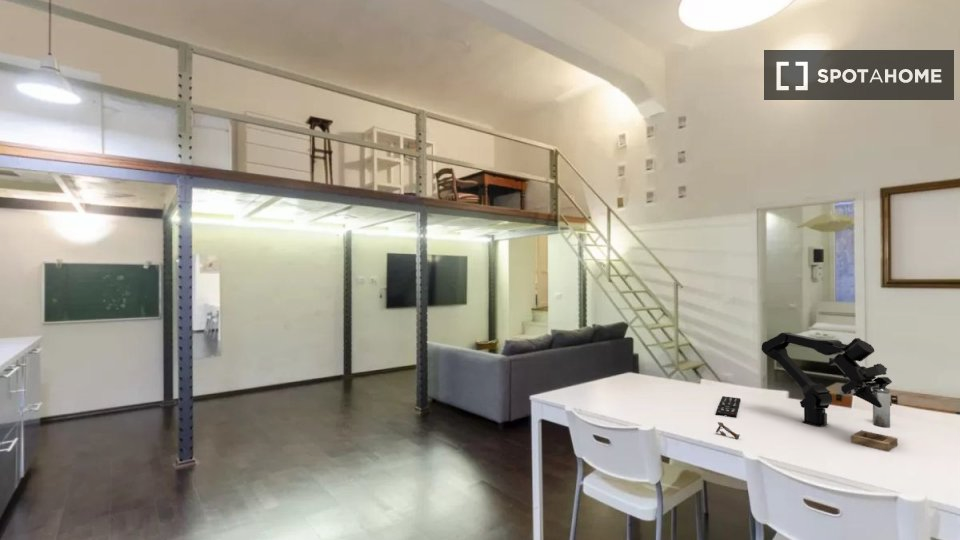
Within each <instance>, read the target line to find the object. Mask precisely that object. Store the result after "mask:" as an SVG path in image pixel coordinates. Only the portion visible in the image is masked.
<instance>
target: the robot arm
mask: <svg viewBox="0 0 960 540" xmlns="http://www.w3.org/2000/svg"><path fill="white" fill-rule="evenodd" d="M790 344H792V345H795V346H801V347H805V348H808V349H812V350H814V351H816V352H817V353H820V354H821V355H824V356H833V357H829V358H828V366H837V367H838V369H839V370H840V371H841V372H842V373H843V375H842V377H843V378H844V379H848V381H847V382H845V383H844V384H842V385H841V387H840V388H841V389H840V390H841V391H842V393H843V394H844V395H851V394H852V396H855V397H857V398H859V399H861V400H864V401H865V402H868V403H869V404H871V405H872V406H873V405H875V406H877V407H879V408H881V407H882V405H881V404H880V402H879V401H878V400H877V398H876V397H875V396H874V394H873V391H872V387H881V388H887V386H889V385H890V384H892V383H893V381H892V380H891V379H890V377H888V376H885V375H887V370H888V367H886V366H885V365H883V364H882V363H876V364H873V366H869V367H866V366H864V365H862V366H860V364H859V363H858V362H863V361H864V360H865V359H867V358H868V357H870V356H871V355H872V354H874V352H875V349H874V346H872V344H870V343H868V342H866V341H865V340H862V339H861V338H860V337H857V338H856V337H855V338H854V339H853V340H851V342H849V343H848V344H845V343H843V342H842V341H841V340H839V339H827V338H826V339H825V338H823V339H821V338H819V339H818V338H814V337H809V336H806V335H805V336H804V335H801V334H796V333H793V332H790V331H789V332H788V331H787V332H780V333H779V334H777V335H776V336H775V337H773V338H770V339H768V340H767V341H763V343H761V351H762V352H763V354H764V355H766V356H767V357H768V358H769V359H772V360H774V361H776V362H777V363H778V364H779V365H780V366H781V367H782V368H783V370H785V372H786V373H787V374H788V375H789V376H790V378H792V379H793V381H794V382H795V384H797V385H798V386H799V387H800V388H801V390H802V395H803V397H804V398H803V399H801V400H800V401H799V404H800V407H801V408H803V417H804V420H802V423H804V424H808V425H812V426H813V425H814V426H817V427H823V426H825V425H828V414H827V412H826V409H829V406H830V405H831V404H832V402H833V395H832V394H831V391H830V390H829V389H828V388H826V386H825V384H823V383H815V382H814V381H813V380H812V379H811V378H810V377H809V376H808V375H807V374H806V372H804V371H803V369H801V368H800V367H799V365H798V364H797V363H796V362H795V361H794V360H793V359H792V358H791V357H790V356H789V355H788V350H787V348H788V347H789V345H790ZM881 375H883V376H881ZM852 391H854V393H852ZM891 406H892V402H891V401H890V407H891Z"/></svg>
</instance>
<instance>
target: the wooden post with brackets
mask: <svg viewBox="0 0 960 540" xmlns="http://www.w3.org/2000/svg"><path fill="white" fill-rule="evenodd" d="M717 424H718V427H717V428H716V431H715V433H716V434H718V433H720V435H722V436H725V437H726V436H727V434H726V433H725V432H724V431H722V430H721V429H724V430H725V431H726V432H727V433H728V434H731V435H732V436H733V438H735V440H737V439H739V438H740V436H741V434H739V433H738V434H737V433H735V432H734V431H732V429H730V428H729V427H728V426H726V425H724V423H723V422H720V421H718V422H717Z"/></svg>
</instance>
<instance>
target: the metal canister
mask: <svg viewBox="0 0 960 540" xmlns="http://www.w3.org/2000/svg"><path fill="white" fill-rule="evenodd" d="M872 391H873V394H874V396H875V397H876V398H877V400H878V401H879V402H880V404H881V405H882V407H881V408H879V407H877V406H875V405H873V404H872V425H873V426H875V427H877V428H878V427H879V428H883V429H890V428H891V406H890V402H891V389H890V388H887V387H886V388H881V387H872Z"/></svg>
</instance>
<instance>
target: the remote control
mask: <svg viewBox="0 0 960 540" xmlns="http://www.w3.org/2000/svg"><path fill="white" fill-rule="evenodd" d="M740 405H741V398H739V397H732V396H723V395H722V397H721V399H720V401H719V403H718V406H717V409H716V411H715V416H719V417H720V416H721V417H727V418H736V419H737V416H738V413H739V409H740Z"/></svg>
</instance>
